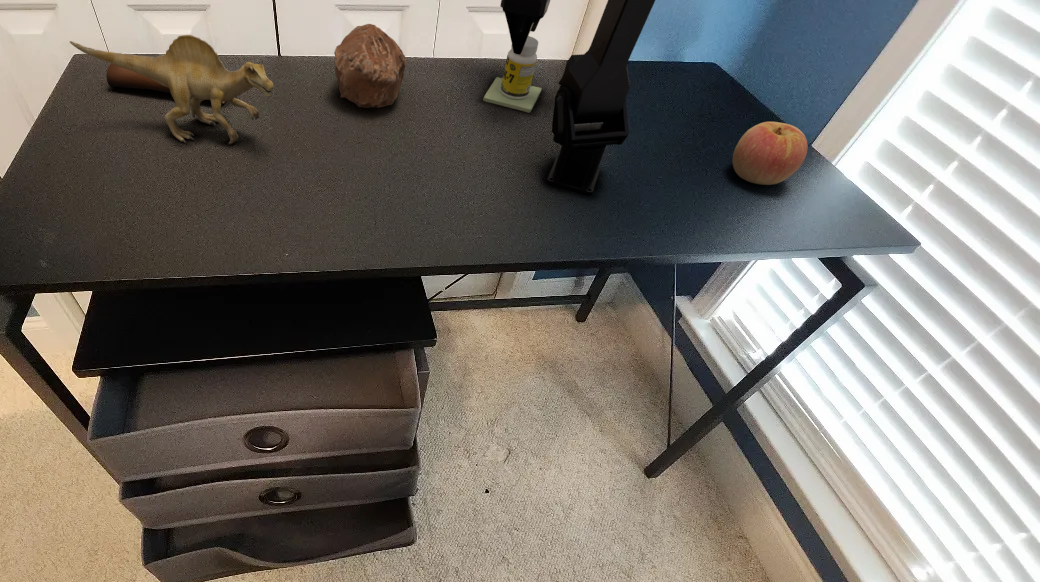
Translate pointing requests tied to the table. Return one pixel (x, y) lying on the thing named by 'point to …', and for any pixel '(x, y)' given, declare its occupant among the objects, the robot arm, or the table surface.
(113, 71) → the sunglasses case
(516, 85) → the supplement bottle
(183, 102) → the dinosaur figurine
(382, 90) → the decorative rock
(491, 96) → the mat
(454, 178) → the table surface
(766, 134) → the apple
